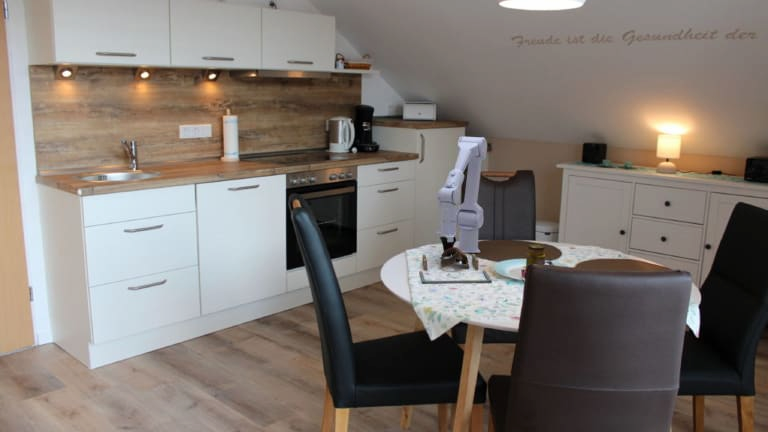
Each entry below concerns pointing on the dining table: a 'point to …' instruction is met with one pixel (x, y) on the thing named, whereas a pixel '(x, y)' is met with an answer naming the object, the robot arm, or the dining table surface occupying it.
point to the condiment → (535, 255)
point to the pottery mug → (454, 257)
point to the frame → (457, 281)
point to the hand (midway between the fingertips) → (447, 256)
